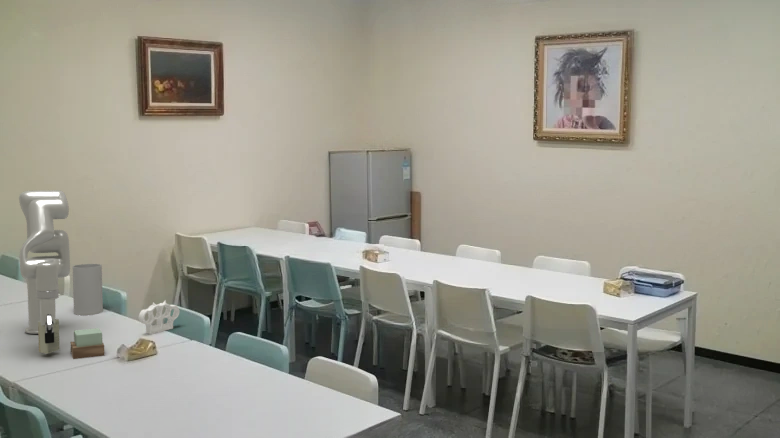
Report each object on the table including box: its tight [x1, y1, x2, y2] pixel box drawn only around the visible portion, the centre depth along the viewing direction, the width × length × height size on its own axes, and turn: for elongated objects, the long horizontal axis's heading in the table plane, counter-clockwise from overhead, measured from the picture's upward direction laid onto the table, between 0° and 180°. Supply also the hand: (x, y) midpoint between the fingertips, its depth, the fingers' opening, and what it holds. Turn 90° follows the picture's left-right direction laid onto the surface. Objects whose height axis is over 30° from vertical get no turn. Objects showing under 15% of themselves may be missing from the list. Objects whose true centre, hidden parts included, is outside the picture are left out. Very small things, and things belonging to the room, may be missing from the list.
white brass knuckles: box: [138, 300, 180, 335], centre depth 320 cm, size 3×18×15 cm, turn 142°
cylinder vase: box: [72, 263, 104, 317], centre depth 350 cm, size 12×12×25 cm
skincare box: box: [37, 318, 60, 355], centre depth 287 cm, size 6×4×12 cm
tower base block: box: [70, 341, 105, 360], centre depth 289 cm, size 11×11×4 cm
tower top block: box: [73, 327, 103, 347], centre depth 289 cm, size 9×9×4 cm
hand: (49, 340), depth 287 cm, fingers closed on skincare box, 7 cm apart
